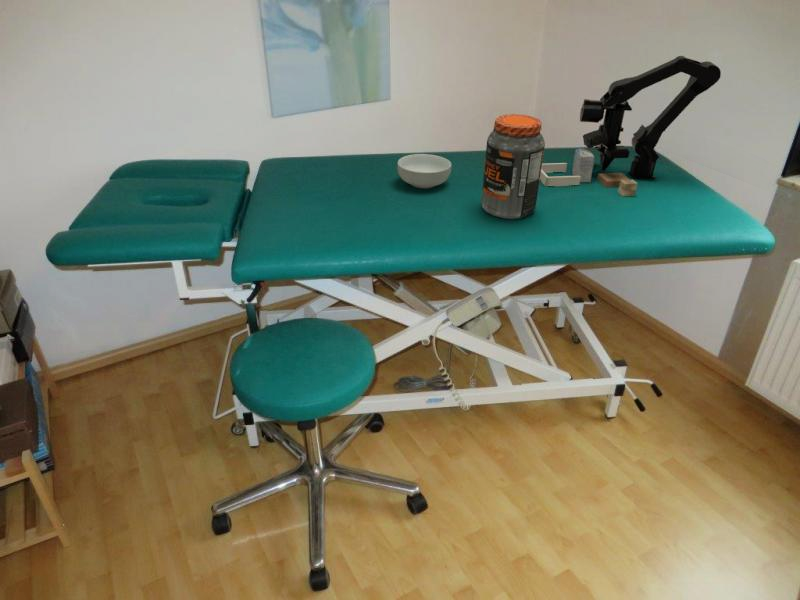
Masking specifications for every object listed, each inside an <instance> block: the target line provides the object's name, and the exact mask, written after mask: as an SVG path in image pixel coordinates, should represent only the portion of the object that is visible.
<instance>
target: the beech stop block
mask: <svg viewBox="0 0 800 600" xmlns="http://www.w3.org/2000/svg"><path fill="white" fill-rule="evenodd" d="M637 187H638V182H637V181H635V180H634V179H630V180H621V181H620V186H619V187H618V190H617V193H618V194H619V195H620V196H621V197H635V195H636V191H637Z"/></svg>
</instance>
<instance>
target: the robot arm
mask: <svg viewBox="0 0 800 600" xmlns="http://www.w3.org/2000/svg"><path fill="white" fill-rule="evenodd" d="M679 73H683V74H685V75H688V76H689V78H688V81H687V83H686V85H685V86H684V87H683V88H682V90H681V91H680V92H679V93H678V94H677V95H676V96H675V97H674V98H673V100H672V101H671V102H670V103H668V105H667V106H666V107H665V108H664V110H662V112H660V113H659V115H658V116H657V117H656V118H655V119H654V120H653V122H651V123H650V124H649V125H647V126H644V124H641V125H640V126H639V128H638V129H637V131H636V132H634V133H633V134H632V135H633V137H632V138H631V146H632V148H633V150H634V152H635V154H637V155H635V156H634V158H633V160H632V161H631V164H630V168H629V169H630V170H628V173H629V175H631V176H632V177H633V178H634V179H636V180H650V179H654V180H655V179H656V176H654V171H655V168H656V164H657V161H658V159H659V157H660V156H659V155H658V153H657V151H656V149H655V148H656V146H657V144H658V143H659V141H660V139H661V136H662V134H663V133H664V132H665V131H666V130H667V129H668V127H670V125H671V124H672V123H673V122H674V121H675V120H676V119H677V118H678V117H679V116H680V115H681V114H682V112H684V110H686V108H687V107H688V106H689V105H690V104H691V103H692V102H693V101H694V100H695V98H697V97H698V96H699V95H701V94H702V93H704V92H707V91H708V90H709V89H710V88H712V87H713V86H714V85H715V84H717V83H718V81H719V80H720V79H721V73H722V72H721V69H720V68H719V66H717V65H716V64H715V63H713V62H712V61H707V60H706V61H701V62H700V61H698V60H695V59H692V58H688V57H685V56H684V55H679V56H676V57H675V58H673V59H670V60H669V61H667V62H665V63H661V65H658V66H656V67H654V68H652V69H649V70H647V71H645V72H643V73H641V74H638V75H636V76H631V77H625V78H621V79H619V80H615V81H613V82H612V83H611V84H610V85H609V87H608V90H607V91H606V93H604V94H603V95H602V96H601V98H600V99H599V100H593V99H587V98H585V99H583V103H582V105H581V108H580V112H579V122H580V123H581V122H582V123H596V124H597V123H599V122H601V121H602V120H603V123H602V124H600V125H599V126H598V129H596V130H593V131H590V132H587V133H584V134H583V135H582V140H583V145H584V146H586V147H587V148H586V149H592V148H595V150H596V151H597V152H598V153H599V154H598V155H599V161H600V169H601V171H603V172H605V171H606V170H607V169H608V168H609V166H610V165H611V163H613V161H615V159H628V158H629V157H630V149H628V148H627V147H625V146H624V145H621V143H622V140H620V135H621V132H622V133H623V132H624V130H625V129H624V127H622V126H623V120H624V116H625V112H626V111H629V112H631V111H633V108H632V106H631V105H630V104H629V103H630V102H629V100H631V98H634V97H635V96H636V95H637V94H638V93H639V92H641V91H642V90H644V89H646V88H648V87H650V86H653V85H654V84H657V83H660V82H661V81H664V80H667V79H668V78H671V77H673V76H675V75H677V74H679Z"/></svg>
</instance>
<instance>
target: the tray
mask: <svg viewBox="0 0 800 600" xmlns="http://www.w3.org/2000/svg"><path fill="white" fill-rule="evenodd" d="M567 168H568V163H567V162H560V163H559V162H556V163H555V162H554V163H553V162H552V163H550V162H549V163H542V167H541V174H540V180H541V181H540V182H541V183H542V185H543V186H546V188H548V187H547V186H555V187H572V186H571V185H579V186H580V184H581V182H580V178H581V176H573V175H562V176H558V175H557V176H548V174H554V173H553V172H563V173H566V172H567ZM569 185H570V186H569Z"/></svg>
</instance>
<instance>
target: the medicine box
mask: <svg viewBox="0 0 800 600" xmlns="http://www.w3.org/2000/svg"><path fill="white" fill-rule="evenodd" d="M594 164H595V156H594V154H593V153H592V151H591V150H590V148H576V149H575V151H574V158H573V162H572V170H571V176H581V178H580V183H591V180H592V174H593V170H594Z"/></svg>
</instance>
